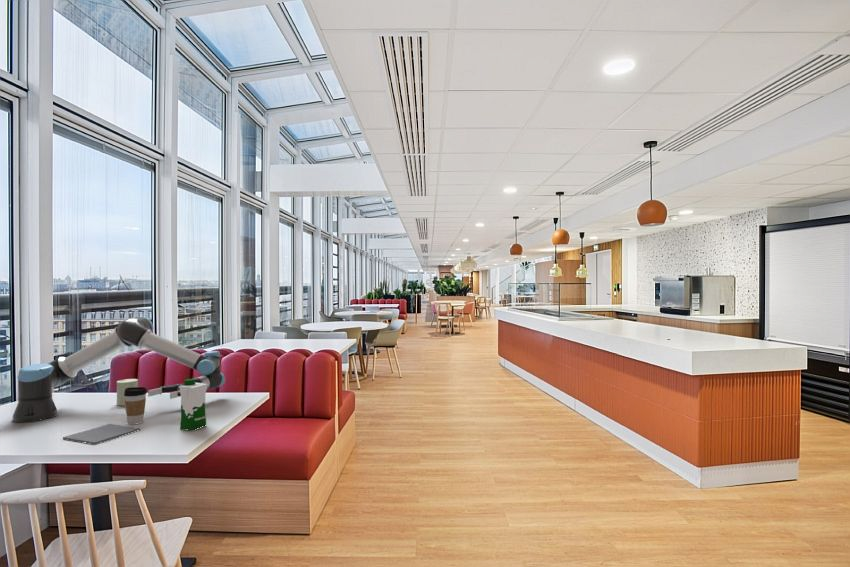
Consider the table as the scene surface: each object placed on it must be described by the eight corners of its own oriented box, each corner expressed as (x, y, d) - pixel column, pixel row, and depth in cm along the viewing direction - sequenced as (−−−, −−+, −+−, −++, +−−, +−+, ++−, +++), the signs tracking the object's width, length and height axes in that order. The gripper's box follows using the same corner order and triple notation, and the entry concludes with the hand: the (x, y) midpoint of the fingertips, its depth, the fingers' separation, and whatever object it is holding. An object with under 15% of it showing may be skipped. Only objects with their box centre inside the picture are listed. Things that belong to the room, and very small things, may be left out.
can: (126, 400, 232) (126, 377, 232) (142, 401, 231) (142, 378, 231) (111, 405, 223) (111, 381, 223) (128, 405, 222) (128, 381, 222)
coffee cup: (126, 421, 196) (126, 386, 197) (148, 418, 200) (148, 385, 200) (121, 426, 189) (121, 391, 189) (144, 424, 192) (145, 389, 192)
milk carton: (194, 423, 192) (194, 377, 193) (210, 425, 189) (210, 378, 190) (176, 429, 184) (176, 381, 184) (192, 432, 181) (193, 382, 181)
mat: (62, 439, 173) (62, 437, 173) (109, 425, 190) (109, 423, 190) (94, 444, 167) (94, 442, 167) (140, 430, 184) (140, 428, 184)
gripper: (216, 394, 220) (180, 405, 200) (178, 390, 229) (139, 400, 209) (216, 379, 220) (179, 388, 200) (178, 376, 229) (139, 384, 209)
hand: (159, 394), depth 205 cm, fingers open, 13 cm apart
